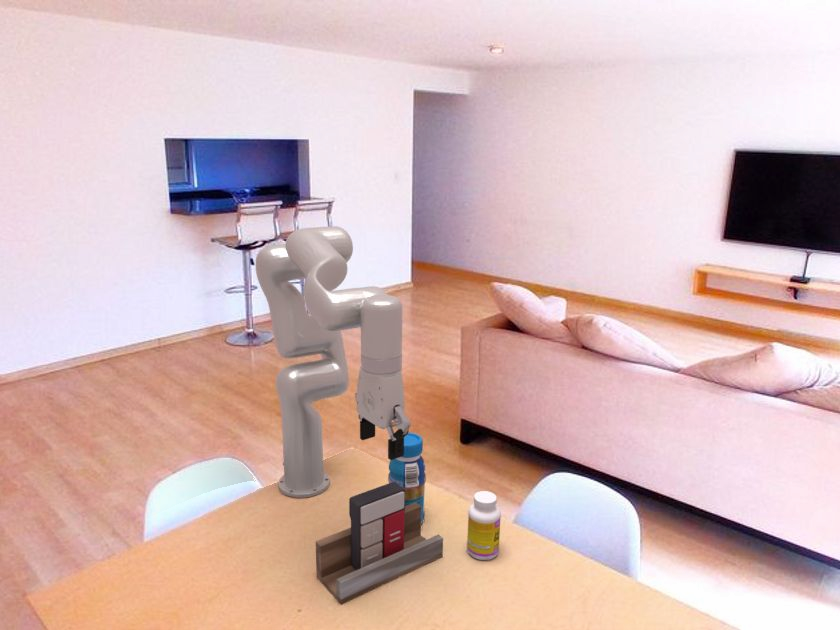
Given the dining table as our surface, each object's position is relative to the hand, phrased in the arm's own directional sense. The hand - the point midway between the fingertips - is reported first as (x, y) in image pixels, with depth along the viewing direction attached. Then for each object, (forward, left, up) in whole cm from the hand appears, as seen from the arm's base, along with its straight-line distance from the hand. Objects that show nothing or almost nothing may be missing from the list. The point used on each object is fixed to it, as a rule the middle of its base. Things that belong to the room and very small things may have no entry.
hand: (381, 447), depth 121 cm
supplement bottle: (+8, +20, -27) cm, 34 cm away
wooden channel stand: (0, 0, -26) cm, 26 cm away
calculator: (-1, 0, -25) cm, 25 cm away
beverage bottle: (-11, +14, -26) cm, 32 cm away
